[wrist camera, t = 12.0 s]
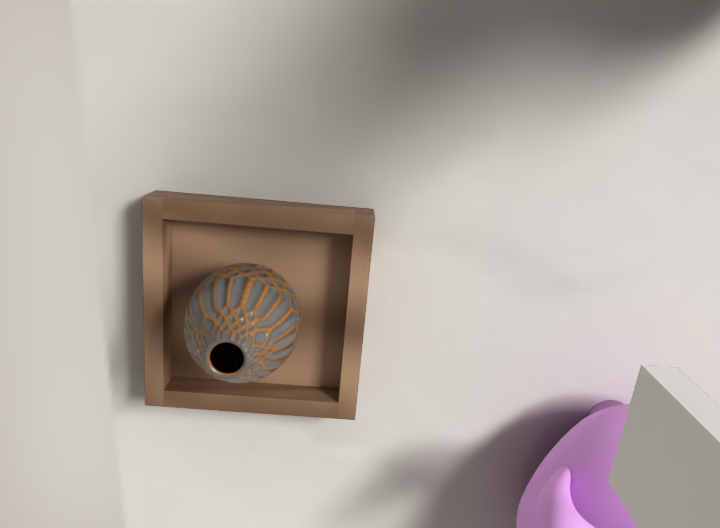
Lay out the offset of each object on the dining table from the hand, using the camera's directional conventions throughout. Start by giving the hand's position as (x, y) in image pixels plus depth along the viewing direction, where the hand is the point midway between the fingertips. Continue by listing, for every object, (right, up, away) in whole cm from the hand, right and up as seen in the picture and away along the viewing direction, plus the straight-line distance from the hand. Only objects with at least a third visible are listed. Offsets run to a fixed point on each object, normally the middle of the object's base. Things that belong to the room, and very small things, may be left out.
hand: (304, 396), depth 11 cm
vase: (-6, 0, +27) cm, 28 cm away
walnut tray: (-6, 0, +28) cm, 28 cm away
